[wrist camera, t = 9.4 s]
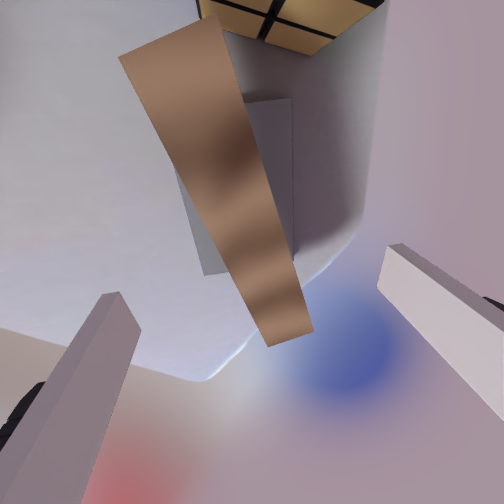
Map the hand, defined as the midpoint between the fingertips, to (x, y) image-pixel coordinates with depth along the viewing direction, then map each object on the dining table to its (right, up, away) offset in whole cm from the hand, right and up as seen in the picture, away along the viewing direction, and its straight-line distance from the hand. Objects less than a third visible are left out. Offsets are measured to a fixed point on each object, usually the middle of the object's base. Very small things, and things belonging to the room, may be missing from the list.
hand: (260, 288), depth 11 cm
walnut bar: (-1, +5, +9) cm, 10 cm away
